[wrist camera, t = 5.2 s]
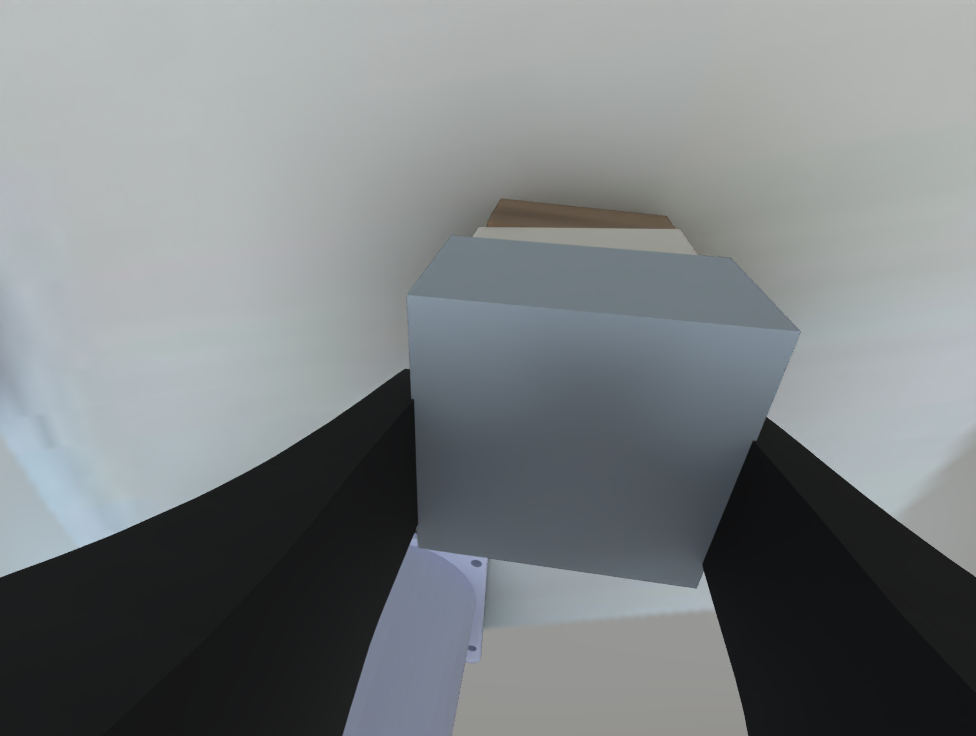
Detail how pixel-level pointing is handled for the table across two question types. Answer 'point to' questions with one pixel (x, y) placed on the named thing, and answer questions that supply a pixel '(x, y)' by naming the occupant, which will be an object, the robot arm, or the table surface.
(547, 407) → the slate block
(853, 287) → the table surface
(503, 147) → the table surface
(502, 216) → the walnut block
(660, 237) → the cream block
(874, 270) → the table surface
